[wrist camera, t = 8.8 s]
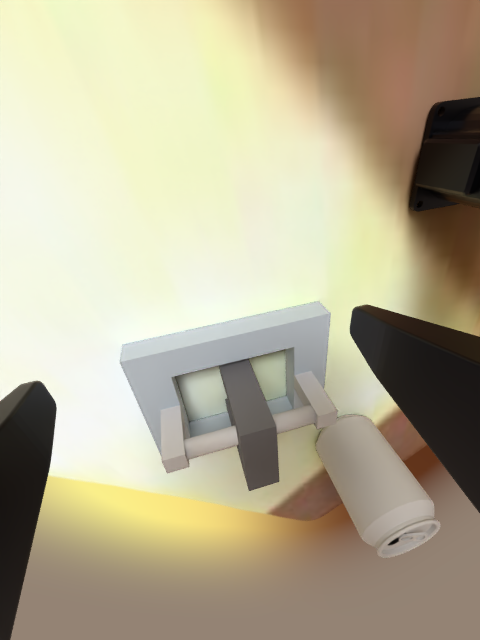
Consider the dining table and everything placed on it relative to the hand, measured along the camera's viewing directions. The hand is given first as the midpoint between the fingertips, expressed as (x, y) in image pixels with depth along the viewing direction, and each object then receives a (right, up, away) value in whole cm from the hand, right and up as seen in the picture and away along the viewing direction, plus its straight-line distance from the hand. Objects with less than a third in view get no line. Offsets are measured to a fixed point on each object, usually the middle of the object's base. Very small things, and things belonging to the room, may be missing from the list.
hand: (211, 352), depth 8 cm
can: (+13, -13, +27) cm, 33 cm away
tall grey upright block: (0, -5, +18) cm, 19 cm away
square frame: (0, -5, +18) cm, 19 cm away
